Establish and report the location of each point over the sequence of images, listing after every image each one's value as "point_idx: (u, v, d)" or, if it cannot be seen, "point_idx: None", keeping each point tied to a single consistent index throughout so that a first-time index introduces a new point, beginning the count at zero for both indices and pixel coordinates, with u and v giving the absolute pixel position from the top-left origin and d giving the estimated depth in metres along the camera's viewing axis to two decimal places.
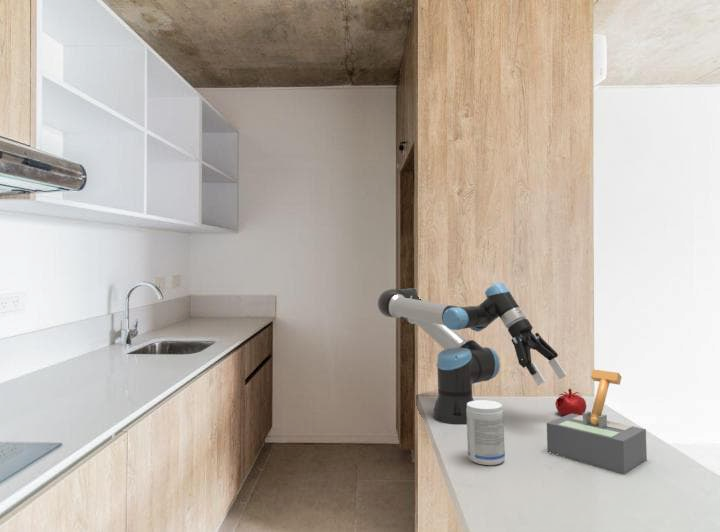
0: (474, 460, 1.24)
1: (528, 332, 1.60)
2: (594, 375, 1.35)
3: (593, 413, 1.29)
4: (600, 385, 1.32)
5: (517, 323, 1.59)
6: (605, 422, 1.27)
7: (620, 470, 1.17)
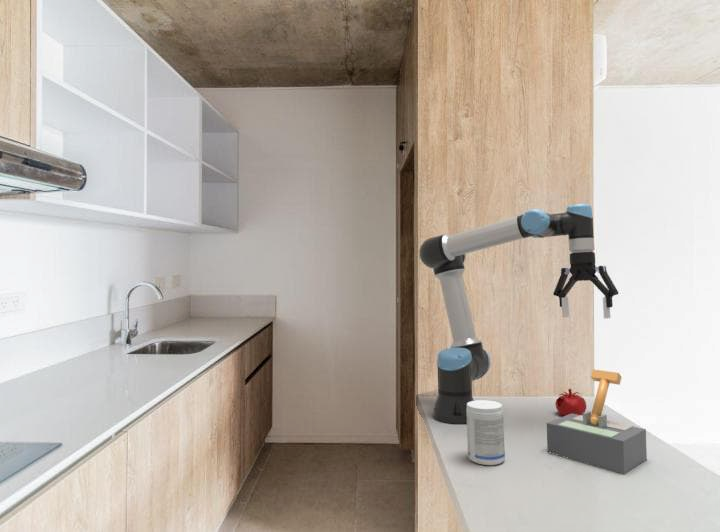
0: (474, 460, 1.24)
1: None
2: (594, 375, 1.35)
3: (593, 413, 1.29)
4: (600, 385, 1.32)
5: None
6: (605, 422, 1.27)
7: (620, 470, 1.17)
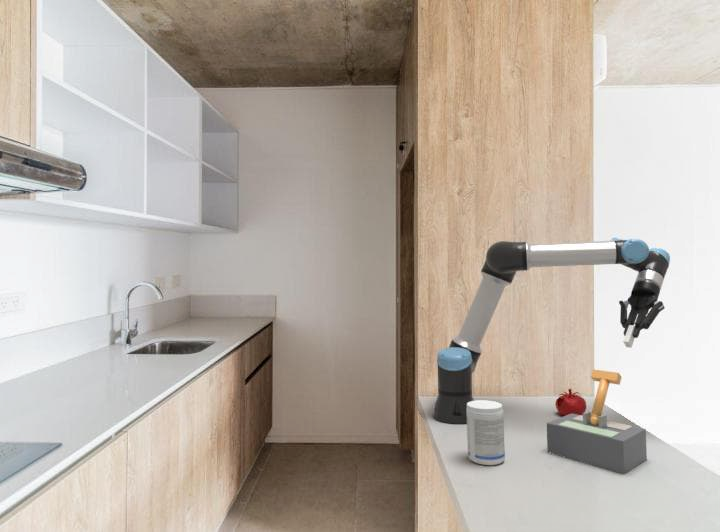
0: (474, 460, 1.24)
1: None
2: (594, 375, 1.35)
3: (593, 413, 1.29)
4: (600, 385, 1.32)
5: None
6: (605, 422, 1.27)
7: (620, 470, 1.17)
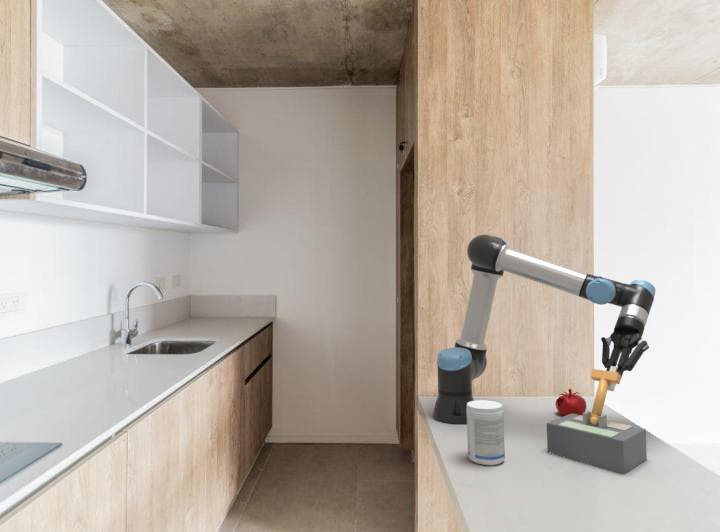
0: (474, 460, 1.24)
1: None
2: (594, 375, 1.35)
3: (593, 413, 1.29)
4: (600, 384, 1.32)
5: None
6: (605, 422, 1.27)
7: (620, 470, 1.17)
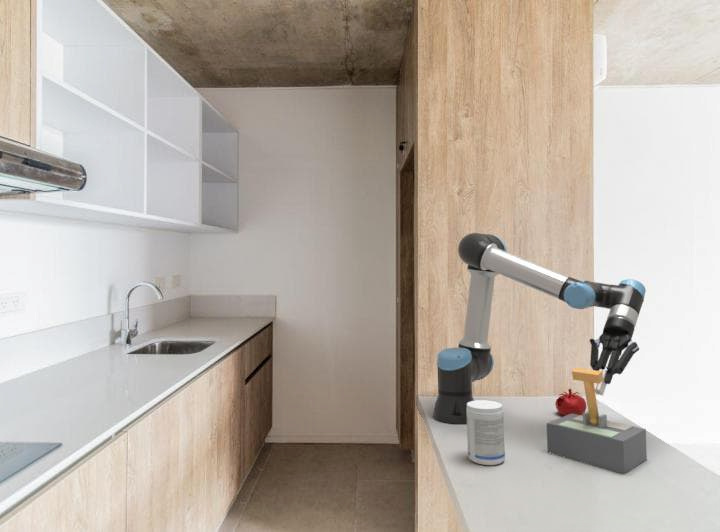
0: (474, 460, 1.24)
1: None
2: (576, 378, 1.28)
3: (591, 417, 1.28)
4: (585, 388, 1.27)
5: None
6: (605, 422, 1.27)
7: (620, 470, 1.17)
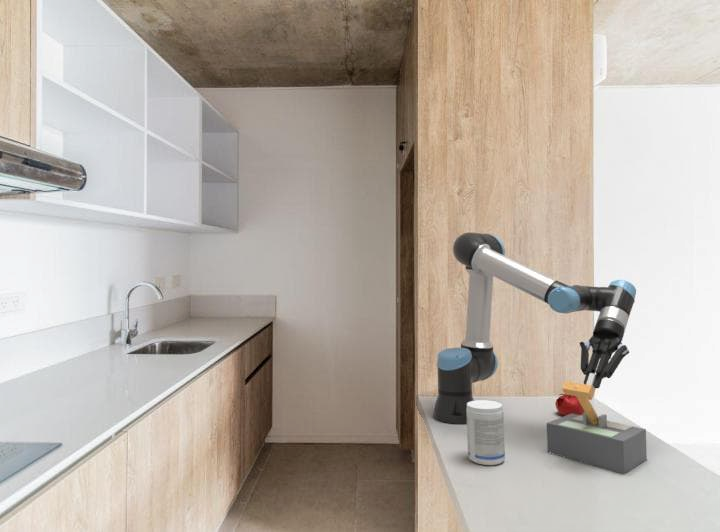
0: (474, 460, 1.24)
1: None
2: (567, 393, 1.25)
3: (590, 420, 1.28)
4: (579, 400, 1.24)
5: None
6: (605, 422, 1.27)
7: (620, 470, 1.17)
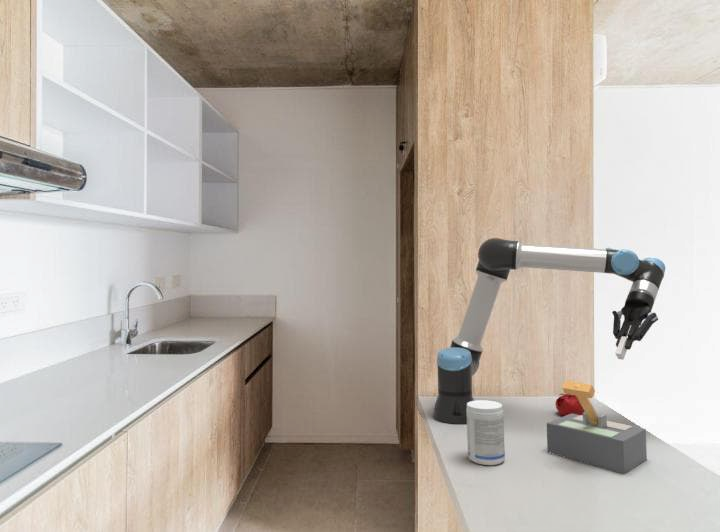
0: (474, 460, 1.24)
1: None
2: (567, 392, 1.25)
3: (590, 420, 1.28)
4: (579, 400, 1.24)
5: None
6: (605, 422, 1.27)
7: (620, 470, 1.17)
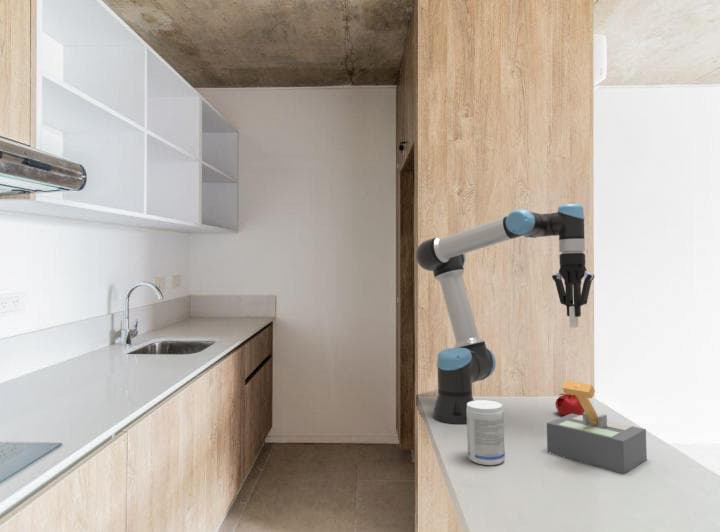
0: (474, 460, 1.24)
1: None
2: (567, 392, 1.25)
3: (590, 420, 1.28)
4: (579, 400, 1.24)
5: None
6: (605, 422, 1.27)
7: (620, 470, 1.17)
